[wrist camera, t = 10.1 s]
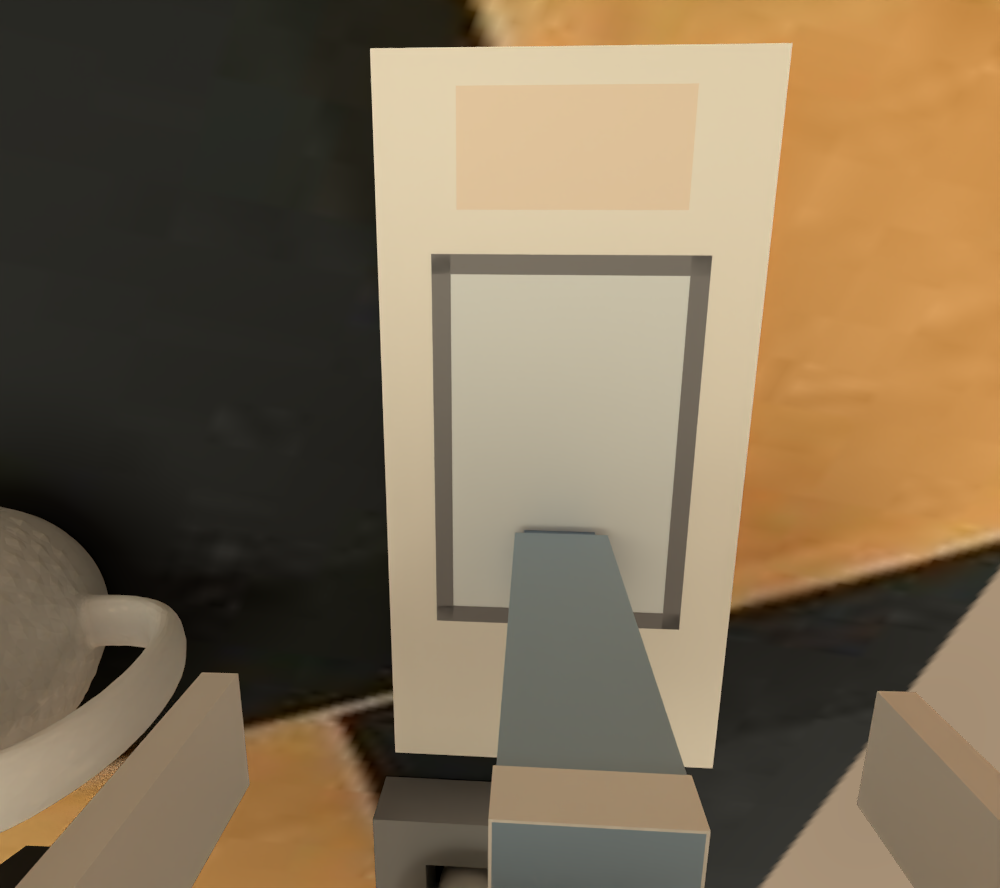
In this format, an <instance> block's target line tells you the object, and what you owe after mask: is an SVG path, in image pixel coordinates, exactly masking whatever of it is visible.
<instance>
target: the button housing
mask: <svg viewBox="0 0 1000 888" xmlns="http://www.w3.org/2000/svg"><path fill="white" fill-rule="evenodd" d="M491 783H492V782H483V781H464V780H445V779H426V778H407V777H388V776H386V779H385V782H384V786H383V789H382V792H381V795H380V798H379V802H378V805H377V808H376V811H375V814H374V817H373V832H374V853H375V874H376V888H439V882H436V872H435V865H438V866H454V867H471V868H488V817H489V805H490V794H491Z"/></svg>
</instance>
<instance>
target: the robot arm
mask: <svg viewBox="0 0 1000 888" xmlns="http://www.w3.org/2000/svg"><path fill="white" fill-rule="evenodd" d="M249 785H250V783H249V774H248V764H247V754H246V745H245V735H244V725H243V716H242V706H241V697H240V687H239V677H238V673H203V672H202V673H201V674H200V675H199V676H198V678H197V679H196V680H195V681H194V682H193V683H192V684H191V686H190V687H189V688H188V689H187V690H186V691H185V693H184V694H183V695H182V696H181V697H180V698H179V699H178V701H177V702H176V703H175V704H174V705H173V706H172V707H171V709H170V710H169V711H168V712H167V713H166V714H165V716H164V717H163V718H162V719H161V720H160V721H159V722H158V724H157V725H156V726H155V727H154V728H153V729H152V731H151V732H150V733H149V734H148V735H147V736H146V737H145V739H144V740H143V741H142V742H141V743H140V744H139V745H138V747H137V748H136V749H135V750H134V751H133V752H132V754H131V755H130V756H129V757H128V758H127V759H126V760H125V762H124V763H123V764H122V765H121V766H120V767H119V768H118V770H117V771H116V772H115V773H114V774H113V775H112V777H111V778H110V779H109V780H108V781H107V782H106V783H105V785H104V786H103V787H102V788H101V789H100V790H99V791H98V793H97V794H96V795H95V796H94V797H93V798H92V800H91V801H90V802H89V803H88V804H87V805H86V806H85V808H84V809H83V810H82V811H81V812H80V813H79V814H78V816H77V817H76V818H75V819H74V820H73V821H72V823H71V824H70V825H69V826H68V827H67V828H66V829H65V831H64V832H63V833H62V834H61V835H60V836H59V837H58V839H57V840H56V841H55V842H54V843H53V844H52V846H51V847H44V846H25V847H24V848H22V849H21V850H20V851H18V852H17V853H16V854H14V855H13V856H12V857H10V858H9V859H7V860H6V861H5V862H3V863H2V864H1V865H0V888H192V886H193V884H194V882H195V881H196V879H197V877H198V875H199V873H200V872H201V870H202V868H203V866H204V865H205V863H206V861H207V859H208V858H209V856H210V854H211V852H212V850H213V849H214V847H215V845H216V843H217V842H218V840H219V838H220V836H221V834H222V833H223V831H224V829H225V827H226V826H227V824H228V822H229V820H230V818H231V817H232V815H233V813H234V811H235V810H236V808H237V806H238V804H239V803H240V801H241V799H242V797H243V795H244V794H245V792H246V790H247V788H248V787H249ZM857 805H858V807H859V808H860V810H861V811H862V813H863V814H864V816H865V817H866V818H867V820H868V821H869V823H870V824H871V826H872V827H873V829H874V830H875V831H876V833H877V834H878V836H879V837H880V839H881V840H882V842H883V843H884V844H885V846H886V847H887V849H888V850H889V852H890V853H891V854H892V856H893V858H894V859H895V861H896V862H897V864H898V865H899V866H900V868H901V869H902V871H903V872H904V874H905V875H906V877H907V878H908V880H909V881H910V883H911V884H912V885H913V887H914V888H1000V773H999V772H998V771H997V770H996V769H995V768H994V767H993V766H992V765H991V764H990V763H989V762H988V761H987V760H986V759H984V757H983V756H981V755H980V754H979V753H978V752H977V751H976V750H975V749H974V748H973V747H972V746H971V745H970V744H969V743H968V742H967V741H966V740H965V739H964V738H963V737H962V736H961V735H960V734H959V733H958V732H957V731H956V730H954V729H953V728H952V727H951V726H950V725H949V724H948V723H947V722H946V721H945V720H944V719H943V718H942V717H941V716H940V715H939V714H938V713H937V712H936V711H935V710H934V709H933V708H931V707H930V705H928V704H927V703H926V702H925V701H924V700H923V699H922V698H921V697H920V696H919V695H918V694H917V693H916V692H893V691H877V695H876V701H875V706H874V712H873V717H872V723H871V728H870V734H869V740H868V745H867V751H866V756H865V762H864V768H863V773H862V779H861V784H860V790H859V796H858V801H857Z"/></svg>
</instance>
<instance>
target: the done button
mask: <svg viewBox="0 0 1000 888" xmlns="http://www.w3.org/2000/svg"><path fill="white" fill-rule="evenodd" d="M439 888H488V868H471V867H454V866H445V867H444V868H443V870H442V872H441V876H440V882H439Z"/></svg>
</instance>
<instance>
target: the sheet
mask: <svg viewBox="0 0 1000 888" xmlns="http://www.w3.org/2000/svg"><path fill="white" fill-rule="evenodd" d="M791 52H792V43H763V44H683V45H603V46H524V47H444V48H370V58H371V86H372V114H373V142H374V170H375V198H376V226H377V254H378V282H379V310H380V338H381V366H382V394H383V422H384V449H385V477H386V505H387V533H388V561H389V589H390V617H391V645H392V673H393V701H394V729H395V752H399V753H418V754H438V755H458V756H478V757H497V751H498V738H499V726H500V713H501V701H502V688H503V676H504V663H505V651H506V638H507V626H508V613H509V601H510V588H511V576H512V563H513V551H514V538H515V533H524V530H538V531H572V532H595V535H608V538H609V541H610V544H611V547H612V550H613V553H614V556H615V559H616V562H617V565H618V568H619V571H620V574H621V577H622V580H623V583H624V586H625V589H626V592H627V595H628V598H629V601H630V604H631V607H632V610H633V613H634V617H635V620H636V623H637V626H638V629H639V632H640V635H641V638H642V641H643V644H644V647H645V650H646V653H647V656H648V659H649V662H650V665H651V668H652V671H653V674H654V677H655V680H656V683H657V686H658V689H659V692H660V695H661V698H662V701H663V704H664V707H665V710H666V713H667V716H668V719H669V722H670V725H671V728H672V731H673V734H674V737H675V740H676V743H677V746H678V749H679V752H680V755H681V758H682V762H683V765H684V767H697V768H713V760H714V751H715V742H716V733H717V724H718V715H719V706H720V697H721V688H722V678H723V669H724V660H725V651H726V642H727V633H728V624H729V615H730V606H731V597H732V588H733V579H734V570H735V560H736V551H737V542H738V533H739V524H740V515H741V506H742V497H743V488H744V479H745V470H746V461H747V452H748V442H749V433H750V424H751V415H752V406H753V397H754V388H755V379H756V370H757V361H758V352H759V343H760V334H761V324H762V315H763V306H764V297H765V288H766V279H767V270H768V261H769V252H770V243H771V234H772V225H773V216H774V206H775V197H776V188H777V179H778V170H779V161H780V152H781V143H782V134H783V125H784V116H785V107H786V97H787V88H788V79H789V70H790V61H791Z"/></svg>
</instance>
